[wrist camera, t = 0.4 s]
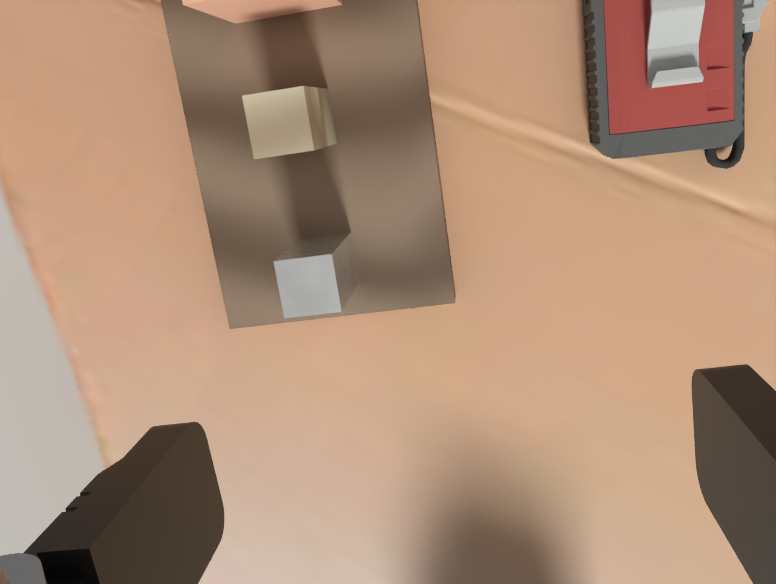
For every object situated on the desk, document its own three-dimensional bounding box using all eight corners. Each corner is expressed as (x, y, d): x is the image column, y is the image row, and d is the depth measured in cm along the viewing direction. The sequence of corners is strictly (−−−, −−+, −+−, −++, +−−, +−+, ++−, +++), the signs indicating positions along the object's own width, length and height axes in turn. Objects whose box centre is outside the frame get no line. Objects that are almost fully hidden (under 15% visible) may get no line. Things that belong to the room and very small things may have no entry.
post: (301, 238, 36) (273, 261, 31) (351, 231, 36) (331, 253, 31) (310, 287, 37) (284, 318, 32) (359, 281, 36) (341, 311, 31)
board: (152, -95, 34) (76, -143, 28) (398, -144, 33) (381, -209, 26) (238, 320, 39) (191, 365, 33) (455, 295, 38) (453, 336, 31)
